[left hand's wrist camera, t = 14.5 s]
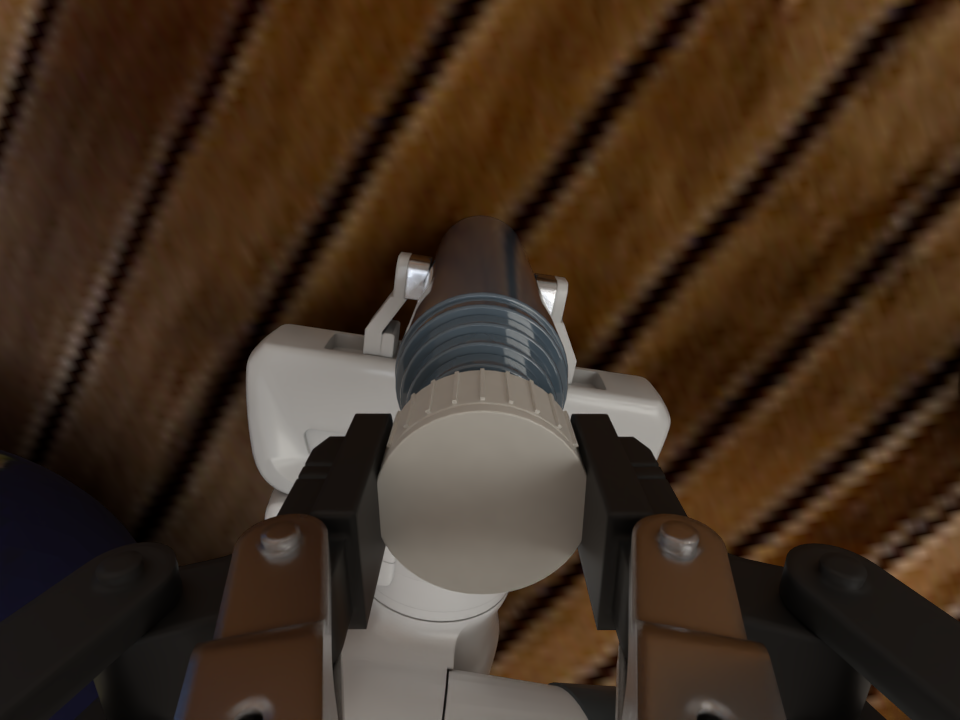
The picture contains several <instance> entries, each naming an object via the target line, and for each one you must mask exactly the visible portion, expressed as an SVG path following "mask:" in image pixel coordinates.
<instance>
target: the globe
mask: <svg viewBox="0 0 960 720" xmlns="http://www.w3.org/2000/svg"><path fill="white" fill-rule="evenodd" d="M133 543H137V542H136V541H135V539H134V538H133V537H132V536H131V534H130V533H129V532H128V530H127V529H126V528H125V526H124V525H123V524H122V523H121V522H120V521H119V520H118V519H117V518H116V517H115V516H114V515H113V514H112V513H111V512H110V511H109V510H107V509H106V508H105V507H104V506H103V505H102V504H101V503H100V502H98V501H97V500H96V499H95V498H93V497H92V496H91V495H89V494H88V493H86V492H85V491H84V490H82V489H81V488H79V487H78V486H76V485H74V484H73V483H71V482H70V481H68V480H67V479H65V478H64V477H62V476H60V475H58V474H56V473H54V472H53V471H51V470H49V469H47V468H45V467H43V466H41V465H39V464H37V463H34V462H32V461H30V460H27V459H25V458H23V457H20V456H17V455H14V454H11V453H9V452H6V451H3V450H0V622H1V621H3V620H4V619H6V618H7V617H9V616H10V615H11V614H13V613H14V612H16V611H17V610H19V609H20V608H22V607H23V606H25V605H26V604H27V603H29V602H30V601H32V600H33V599H35V598H36V597H38V596H39V595H41V594H42V593H43V592H45V591H46V590H48V589H49V588H51V587H52V586H54V585H55V584H56V583H58V582H59V581H61V580H62V579H64V578H65V577H67V576H68V575H70V574H71V573H72V572H74V571H75V570H77V569H78V568H80V567H81V566H83V565H84V564H86V563H87V562H89V561H90V560H92V559H93V558H95V557H97V556H99V555H101V554H103V553H105V552H107V551H110V550H112V549H115V548H118V547H121V546H124V545H128V544H133ZM98 697H99V696H98V693H97V690H96V687H95V684H94V681H93V680H92V681H91V682H90V683H89V684H88V685H87V686H86V687H84V688H83V689H82V690H81V691H80V692H79V693H78V694H77V695H75V696H74V697H73V698H72V699H71V700H70V701H69V702H68V703H66V704H65V705H64V706H63V707H62V708H61V709H60V710H59V711H57V712H56V713H55V714H54V715H53V716H52V717H51V718H50V719H48V720H74V719H75V718H76V717H77V716H78V715H79V714H80V713H81V712H82V711H83V710H85V709H86V708H87V707H88V706H89V705H90V704H91V703H92V702H93V701H94V700H95V699H96V698H98Z"/></svg>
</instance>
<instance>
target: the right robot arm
mask: <svg viewBox="0 0 960 720" xmlns="http://www.w3.org/2000/svg"><path fill="white" fill-rule="evenodd" d="M431 265H432V257H429V256H424V255H418V254H412V253H406V252H401V253H400V255H399V256H398V261H397V266H396V274H395V283H394V290H393V291H392V292H391V294H390V295H389V296H388V298H387V299H386V300H385V302H384V303H383V304H382V305H381V307H380V308H379V309H378V311H377V312H376V313H375V315H374V316H373V317H372V319H371V321H370V322H369V324H368V325H367V327H366V329H365V335H360V334H354V333H347V332H340V331H334V330H327V329H320V328H314V327H307V326H300V325H294V324H284V325H282V326H280V327H278V328H277V329H276V330H274V331H273V332H272V333H270V334H269V335H268V336H266V337H265V338H264V339H263V340H262V341H261V342H260V343H259V344H258V345H257V346H256V347H255V348H254V350H253V351H252V353H251V354H250V356H249V359H248V362H247V367H246V401H247V415H248V425H249V434H250V441H251V447H252V453H253V457H254V460H255V463H256V466H257V468H258V470H259V472H260V474H261V475H262V477H263V478H264V479H265V480H266V481H267V482H268V483H269V484H270V485H271V486H272V487H274V490H273V492H272V494H271V497H270V500H269V502H268V505H267V508H266V512H265V520H266V519H268V518H271V517H275V516H277V514H278V512H279V510H280V509H281V507H282V505H283V503H284V501H285V499H286V498H287V496H288V494H289V492H290V490H291V488H292V487H293V485H294V483H295V481H296V479H298V475H299V474H300V472H301V470H302V468H303V466H305V463H306V461H307V459H308V457H309V455H310V453H311V451H312V450H313V448H315V447H316V446H317V445H319V444H320V443H321V442H323V441H324V440H325V439H327V438H328V437H329V436H345V435H346V433H347V431H348V429H349V426H350V424H351V422H352V420H353V418H354V416H355V414H356V413H391V415H392V419H393V423H394V420H395V416H396V413H397V411H398V410H399V411H400V408H399V405H398V401H397V397H396V389H395V364H396V357H397V353H398V350H399V347H400V344H401V341H400V340H399V333H400V322H399V321H396V320H392V318H393V317H394V316H395V314H396V313H397V312H398V311H399V309H400V308H401V307H402V305H403V304H404V303H405V301H406V300H407V299H414V300H418V298H419V296H420V293H421V291H422V288H423V285H424V283H425V280H426V278H427V275H428V273H429V270H430V268H431ZM534 275H535V278H536V280H537V283H538V285H539V288H540V290H541V292H542V295H543V297H544V300H545V302H546V305H547V307H548V309H549V312H550V314H551V317H552V319H553V322H554V324H555V327H556V329H557V331H558V334H559V336H560V339H561V341H562V344H563V346H564V349H565V353H566V356H567V363H568V391H567V399H566V402H565V406H564V409H563V411H565V410H566V411H567V413H568V415H569V418H570V419H571V415H572V414H608V416H609V418H610V420H611V422H612V424H613V426H614V428H615V431H616V433H617V435H618V437H635V438H636V439H637V440H639V441H640V442H641V443H643V444H644V445H645V446H647V447H648V448H649V449H650V450H651V451H652V453H653V455H654V457H655V459H656V460H657V459H658V456H659V454H660V452H661V449H662V447H663V444H664V442H665V439H666V437H667V434H668V431H669V427H670V415H669V412H668V409H667V407H666V405H665V403H664V402H663V400H662V398H661V397H660V395H659V394H658V392H657V391H656V390H655V388H654V387H653V386H652V385H651V383H650V382H649V381H648V380H647V379H645V378H643V377H640V376H634V375H627V374H620V373H614V372H607V371H600V370H594V369H587V368H580V367H575V366H576V362H577V361H576V358H575V355H574V352H573V349H572V346H571V343H570V340H569V337H568V334H567V331H566V329H565V326H564V323H563V321H562V316H563V311H564V306H565V302H566V297H567V293H568V282H567V280H566V279H565V278H564V277H557V276H551V275H544V274H537V273H534ZM507 594H508V592H505V593H498V594H485V595H480V594H466V593H460V592H454V591H451V590H447V589H443V588H441V587H438V586H435V585H433V584H430V583H428V582H426V581H425V580H423V579H421V578H419V577H417V576H416V575H415V574H413V573H412V572H410V571H409V570H408V569H406V568H405V567H404V566H403V565H402V564H401V563H399V561H398V560H397V559H396V558H395V557H394V556H393V555H392V554H391V552H390V551H389V549H388V548H387V546H386V547H385V551H384V556H383V560H382V564H381V569H380V573H379V577H378V582H377V586H376V590H375V595H374V599H373V603H372V608H371V612H370V616H369V621H368V625H367V629H348V631H347V635H346V639H345V642H344V646H343V649H342V659H343V679H344V714H345V720H615V713H616V687H615V686H600V685H585V684H569V683H550V684H548V685H547V684H541V683H535V682H528V681H522V680H516V679H510V678H504V677H498V676H492V675H489V674H490V670H491V667H492V663H493V659H494V656H495V652H496V648H497V643H498V637H499V618H498V609H499V608H500V606H501V605H502V603H503V602H504V600H505V598H506V596H507Z"/></svg>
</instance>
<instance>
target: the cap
mask: <svg viewBox="0 0 960 720" xmlns="http://www.w3.org/2000/svg"><path fill="white" fill-rule="evenodd" d="M586 477H587V475H586V470H585V467H584V465H583V461H582V458H581V455H580V452H579V449H578V443H577V440H576V437H575V434H574V430H573V427H572V424H571V421H570V418H569V415H568V413H567V411H566V410H565V411H563V410H562V408H561V407H560V406H559V404H558V403H557V402H556V401H555V400H554V397H553V395H552V394H551V393H549V394H548V393H546V392H545V391H544V390H543V389H541V388H540V387H538V386H537V385H535V384H534V382H533V381H532V380H529V381H528V380H526V379H523V378H521V377H518V376H515V375H512V374H510V372H508V371H506V372H505V373H504V372H499V371H490V370H484V368H480V370H475V371H466V372H460V373H459V371H456V372H455V374H452V375H449V376H446V377H443V378H441V379H439V380H437V381H435V379H434V380H432V381H431V384H429V385H428V386H426V387H425V388H423V389H422V390H420V391H419V392H418V393H417V394H415V393H413V394H412V395H411V398H410V400H409V401H408V403H407V404H406V405H405V406H404V407H403V409H402V410H401V411H399V410H398V411H397V413H396V416H395V420H394V423H393V426H392V430H391V433H390V436H389V439H388V443H387V447H386V450H385V453H384V457H383V460H382V463H381V467H380V471H379V474H378V477H377V488H378V502H379V515H380V528H381V537H382V539H383V541H384V543H385V545H386V546H387V548H388V549H389V551H390V552H391V554H392V555H393V556H394V557H395V558H396V559H397V560H398V561H399V563H401V564H402V565H403V566H404V567H405V568H406V569H408V570H409V571H410V572H412V573H413V574H415V575H416V576H417V577H419V578H421V579H423V580H425V581H426V582H428V583H430V584H433V585H435V586H438V587H441V588H443V589H447V590H451V591H454V592H460V593H466V594H480V595H485V594H498V593H505V592H510V591H514V590H518V589H521V588H524V587H527V586H529V585H532V584H534V583H536V582H538V581H540V580H542V579H544V578H546V577H547V576H549V575H550V574H552V573H553V572H555V571H556V570H557V569H558V568H559V567H561V566H562V565H563V564H564V563H565V562H566V561H567V560H568V559H569V558H570V557H571V555H572V554H573V553H574V552H575V550H576V549H577V547H578V546H579V544H580V543H581V540H582V529H583V516H584V504H585V491H586Z"/></svg>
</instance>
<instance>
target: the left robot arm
mask: <svg viewBox="0 0 960 720" xmlns="http://www.w3.org/2000/svg"><path fill="white" fill-rule="evenodd" d="M570 421H571V424H572V427H573V430H574V434H575V437H576V440H577V443H578V449H579V452H580V455H581V458H582V461H583V465H584V467H585V470H586V475H587V477H586V491H585V504H584V516H583V529H582V540H581V543H580V544H579V546H578V551H579V555H580V560H581V564H582V568H583V572H584V576H585V581H586V585H587V589H588V593H589V597H590V601H591V606H592V610H593V614H594V618H595V622H596V627H597V630H616V632H617V635H618V639H619V651H618V659H617V679H616V713H615V720H886V719H885V718H884V717H883V716H882V715H881V714H880V713H879V712H878V711H877V710H875V709H874V708H873V707H872V706H871V705H870V704H869V703H868V702H867V701H866V697H867V694H868V692H869V689H870V686H871V684H872V685H873V686H874V687H876V688H877V689H878V690H879V691H880V692H881V693H882V694H883V695H885V696H886V697H887V698H888V699H889V700H890V701H891V702H892V703H894V704H895V705H896V706H897V707H898V708H899V709H900V710H901V711H903V712H904V713H905V714H906V715H907V716H908V717H909V718H910V719H912V720H960V622H959V621H957V620H956V619H954V618H953V617H951V616H950V615H949V614H947V613H946V612H944V611H943V610H941V609H940V608H938V607H937V606H935V605H934V604H933V603H931V602H930V601H928V600H927V599H925V598H924V597H922V596H921V595H920V594H918V593H917V592H915V591H914V590H912V589H911V588H909V587H908V586H906V585H905V584H904V583H902V582H901V581H899V580H898V579H896V578H895V577H893V576H892V575H890V574H889V573H888V572H886V571H885V570H883V569H882V568H880V567H879V566H877V565H876V564H874V563H873V562H871V561H870V560H868V559H866V558H864V557H862V556H860V555H858V554H856V553H854V552H851V551H849V550H846V549H843V548H840V547H836V546H831V545H825V544H804V545H799V546H797V547H794V548H793V549H792V550H790V551H789V553H788V554H787V557H786V561H785V565H784V567H781V566H776V565H772V564H767V563H762V562H758V561H753V560H749V559H745V558H741V557H738V556H735V555H732V554H729V553H727V550H726V546H725V544H724V542H723V540H722V539H721V537H720V536H719V535H718V534H717V533H716V532H715V531H713V530H712V529H711V528H709V527H708V526H706V525H705V524H703V523H701V522H699V521H697V520H694V519H692V518H689V517H687V515H686V513H685V511H684V509H683V508H682V506H681V504H680V502H679V500H678V498H677V497H676V495H675V493H674V491H673V489H672V488H671V486H670V484H669V482H668V480H667V479H665V475H664V473H663V471H662V470H661V468H660V467H659V466H658V462H657V460H656V459H655V457H654V455H653V453H652V451H651V450H650V449H649V448H648V447H647V446H645V445H644V444H643V443H641V442H640V441H639V440H637V439H636V438H635V437H618V435H617V433H616V431H615V428H614V426H613V424H612V422H611V420H610V418H609V416H608V414H572V415H571V419H570ZM392 426H393V419H392V415H391V413H356V414H355V416H354V418H353V420H352V422H351V424H350V426H349V429H348V431H347V433H346V435H345V436H329V437H328V438H327V439H325V440H324V441H323V442H321V443H320V444H319V445H317V446H316V447H315V448H313V450H312V451H311V453H310V455H309V457H308V459H307V461H306V463H305V466H303V468H302V470H301V472H300V474H299V475H298V479H296V481H295V483H294V485H293V487H292V488H291V490H290V492H289V494H288V496H287V498H286V499H285V501H284V503H283V505H282V507H281V509H280V510H279V512H278V514H277V516H275V517H271V518H268V519H266V520H263V521H261V522H259V523H257V524H255V525H254V526H252V527H250V528H249V529H248V530H247V531H245V532H244V533H243V534H242V535H241V536H240V537H239V539H238V540H237V542H236V544H235V546H234V550H233V554H231V555H228V556H225V557H221V558H217V559H213V560H208V561H204V562H199V563H194V564H190V565H185V566H180V567H178V563H177V559H176V555H175V552H174V551H173V550H172V549H171V548H170V547H169V546H167V545H164V544H161V543H156V542H140V543H133V544H128V545H124V546H121V547H118V548H115V549H112V550H110V551H107V552H105V553H103V554H101V555H99V556H97V557H95V558H93V559H92V560H90V561H89V562H87V563H86V564H84V565H83V566H81V567H80V568H78V569H77V570H75V571H74V572H72V573H71V574H70V575H68V576H67V577H65V578H64V579H62V580H61V581H59V582H58V583H56V584H55V585H54V586H52V587H51V588H49V589H48V590H46V591H45V592H43V593H42V594H41V595H39V596H38V597H36V598H35V599H33V600H32V601H30V602H29V603H27V604H26V605H25V606H23V607H22V608H20V609H19V610H17V611H16V612H14V613H13V614H11V615H10V616H9V617H7V618H6V619H4V620H3V621H1V622H0V720H48V719H50V718H51V717H52V716H53V715H54V714H55V713H56V712H57V711H59V710H60V709H61V708H62V707H63V706H64V705H65V704H66V703H68V702H69V701H70V700H71V699H72V698H73V697H74V696H75V695H77V694H78V693H79V692H80V691H81V690H82V689H83V688H84V687H86V686H87V685H88V684H89V683H90V682H91V681H92V680H93V681H94V684H95V687H96V690H97V693H98V696H99V697H98V698H96V699H95V700H94V701H93V702H92V703H91V704H90V705H89V706H88V707H87V708H86V709H85V710H83V711H82V712H81V713H80V714H79V715H78V716H77V717H76V718H75V719H74V720H345V714H344V679H343V659H342V649H343V646H344V642H345V639H346V635H347V631H348V629H367V625H368V621H369V616H370V612H371V608H372V603H373V599H374V595H375V590H376V586H377V582H378V577H379V573H380V569H381V564H382V560H383V556H384V551H385V547H386V545H385V543H384V541H383V539H382V537H381V528H380V515H379V502H378V488H377V477H378V474H379V471H380V467H381V463H382V460H383V457H384V453H385V450H386V447H387V443H388V439H389V436H390V433H391V430H392Z"/></svg>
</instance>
